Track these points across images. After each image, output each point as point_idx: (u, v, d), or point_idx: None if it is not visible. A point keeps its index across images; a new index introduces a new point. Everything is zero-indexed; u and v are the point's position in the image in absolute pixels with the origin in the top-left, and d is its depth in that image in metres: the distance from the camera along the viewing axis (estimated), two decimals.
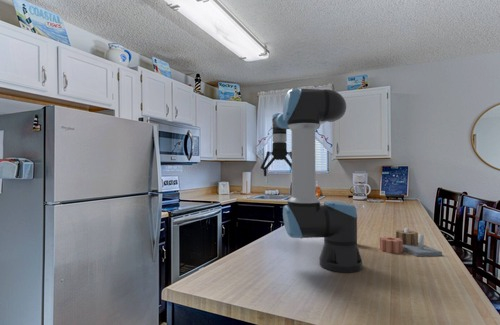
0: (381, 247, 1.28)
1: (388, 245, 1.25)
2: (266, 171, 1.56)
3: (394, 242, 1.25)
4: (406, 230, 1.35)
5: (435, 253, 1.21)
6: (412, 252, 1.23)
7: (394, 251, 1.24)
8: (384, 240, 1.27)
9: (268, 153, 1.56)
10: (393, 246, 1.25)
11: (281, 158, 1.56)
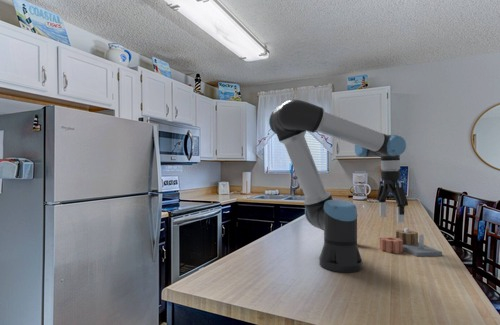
0: (381, 247, 1.28)
1: (388, 245, 1.25)
2: (380, 203, 1.36)
3: (394, 242, 1.25)
4: (406, 230, 1.35)
5: (435, 253, 1.21)
6: (412, 252, 1.23)
7: (394, 251, 1.24)
8: (384, 240, 1.27)
9: (380, 183, 1.35)
10: (393, 246, 1.25)
11: (389, 190, 1.28)
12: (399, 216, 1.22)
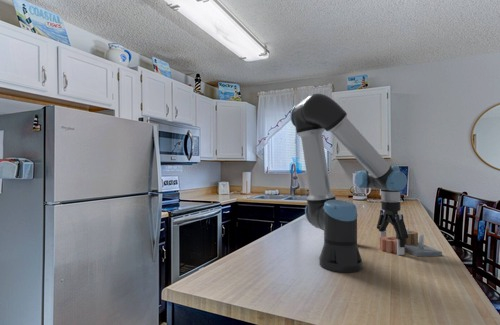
0: (381, 247, 1.28)
1: (388, 245, 1.25)
2: (380, 232, 1.36)
3: (394, 242, 1.25)
4: (406, 230, 1.35)
5: (435, 253, 1.21)
6: (412, 252, 1.23)
7: (394, 251, 1.24)
8: (384, 240, 1.27)
9: (380, 212, 1.35)
10: (393, 246, 1.25)
11: (389, 221, 1.28)
12: (399, 249, 1.21)
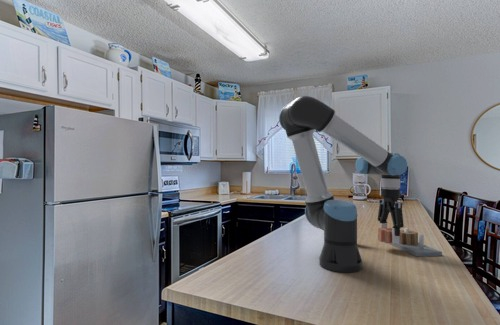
0: (380, 238, 1.28)
1: (387, 235, 1.25)
2: (381, 224, 1.34)
3: None
4: (406, 230, 1.35)
5: (435, 253, 1.21)
6: (412, 252, 1.23)
7: None
8: (383, 231, 1.27)
9: (380, 202, 1.35)
10: None
11: None
12: (394, 238, 1.23)
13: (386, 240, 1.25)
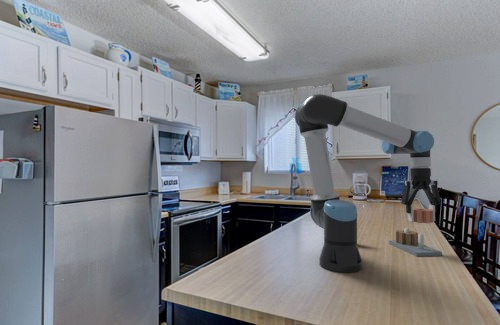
0: (428, 219, 1.21)
1: (433, 215, 1.23)
2: (411, 207, 1.24)
3: None
4: (406, 230, 1.35)
5: (435, 253, 1.21)
6: (412, 252, 1.23)
7: None
8: None
9: (409, 183, 1.24)
10: None
11: (424, 187, 1.25)
12: None
13: (433, 219, 1.23)
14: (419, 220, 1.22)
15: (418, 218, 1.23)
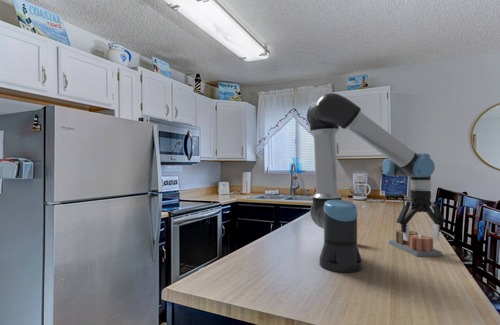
0: (428, 248, 1.21)
1: (432, 243, 1.23)
2: (406, 227, 1.24)
3: None
4: None
5: (435, 253, 1.21)
6: (412, 252, 1.23)
7: None
8: None
9: (408, 204, 1.24)
10: None
11: (424, 210, 1.25)
12: None
13: (432, 248, 1.23)
14: (419, 248, 1.22)
15: (418, 246, 1.22)
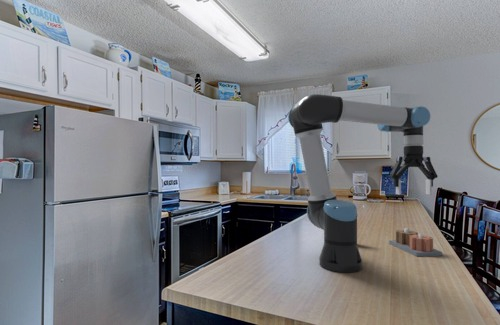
0: (428, 248, 1.21)
1: (432, 243, 1.23)
2: (398, 181, 1.28)
3: None
4: (406, 230, 1.35)
5: (435, 253, 1.21)
6: (412, 252, 1.23)
7: None
8: None
9: (401, 159, 1.28)
10: None
11: (416, 165, 1.28)
12: None
13: (432, 248, 1.23)
14: (419, 248, 1.22)
15: (418, 246, 1.22)
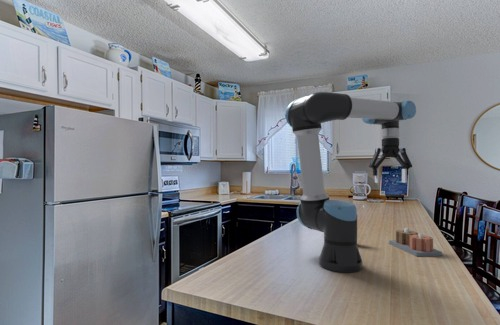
0: (428, 248, 1.21)
1: (432, 243, 1.23)
2: (377, 170, 1.39)
3: None
4: (406, 230, 1.35)
5: (435, 253, 1.21)
6: (412, 252, 1.23)
7: None
8: None
9: (379, 150, 1.39)
10: None
11: (393, 155, 1.40)
12: None
13: (432, 248, 1.23)
14: (419, 248, 1.22)
15: (418, 246, 1.22)
